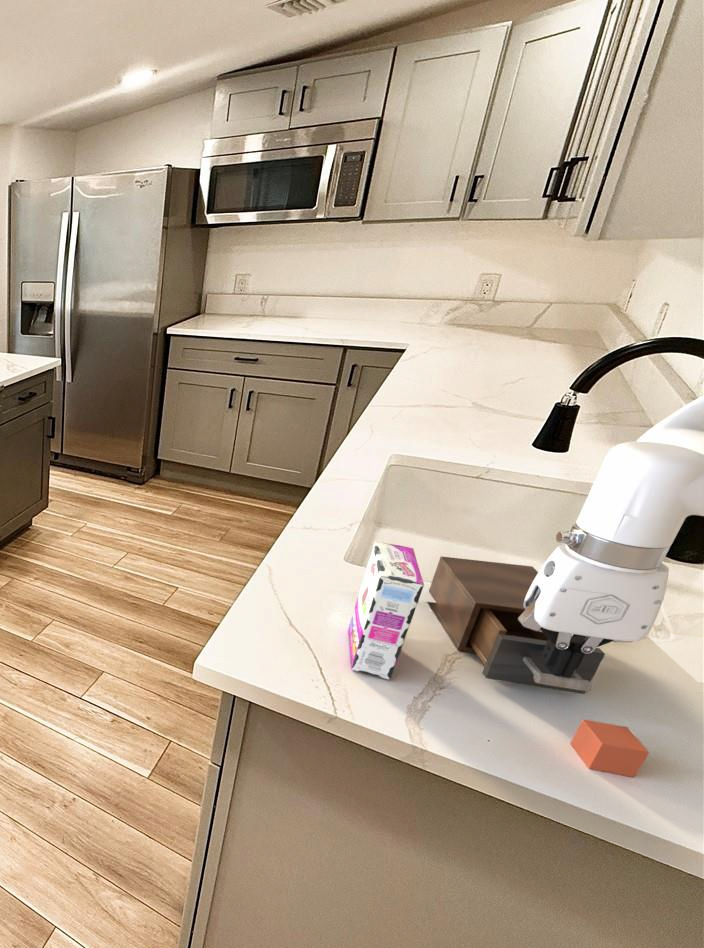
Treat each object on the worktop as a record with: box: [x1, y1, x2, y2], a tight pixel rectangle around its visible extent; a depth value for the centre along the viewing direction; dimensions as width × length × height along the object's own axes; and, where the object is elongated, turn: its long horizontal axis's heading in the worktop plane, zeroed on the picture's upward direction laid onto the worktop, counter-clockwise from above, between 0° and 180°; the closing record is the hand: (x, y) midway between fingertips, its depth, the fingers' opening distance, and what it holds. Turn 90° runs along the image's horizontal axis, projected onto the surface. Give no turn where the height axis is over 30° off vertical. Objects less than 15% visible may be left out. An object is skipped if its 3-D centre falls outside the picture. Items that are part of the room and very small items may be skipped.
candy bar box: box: [347, 541, 425, 681], centre depth 89 cm, size 11×5×16 cm, turn 149°
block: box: [570, 719, 650, 778], centre depth 72 cm, size 4×4×4 cm
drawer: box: [468, 608, 606, 695], centre depth 85 cm, size 17×10×7 cm, turn 158°
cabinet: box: [426, 556, 539, 654], centre depth 93 cm, size 14×12×9 cm
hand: (555, 669), depth 79 cm, fingers closed
